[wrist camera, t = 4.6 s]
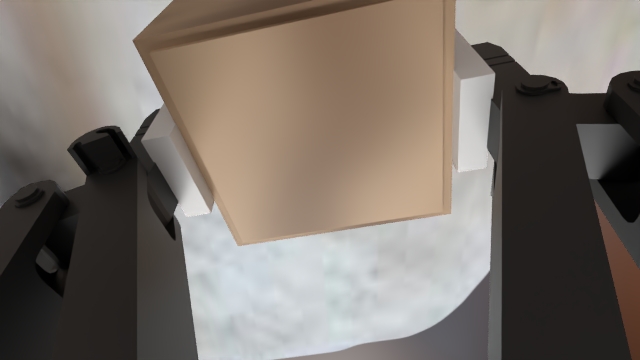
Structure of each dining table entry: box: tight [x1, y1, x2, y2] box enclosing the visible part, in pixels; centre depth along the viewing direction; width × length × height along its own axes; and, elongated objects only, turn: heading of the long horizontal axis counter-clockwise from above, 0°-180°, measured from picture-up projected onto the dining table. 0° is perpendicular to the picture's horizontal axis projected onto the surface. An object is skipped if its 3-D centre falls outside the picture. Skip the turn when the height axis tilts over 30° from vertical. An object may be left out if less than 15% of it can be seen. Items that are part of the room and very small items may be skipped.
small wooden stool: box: [133, 0, 456, 246], centre depth 14 cm, size 7×7×9 cm
